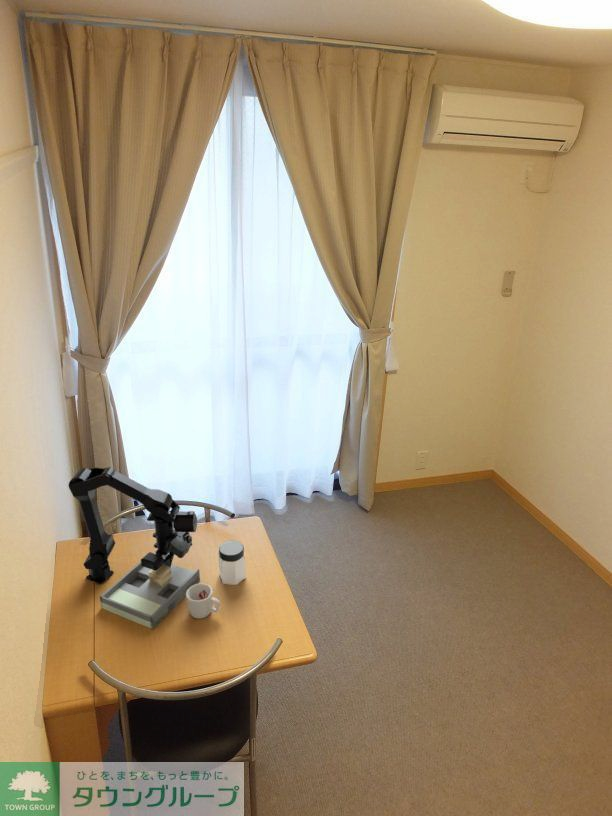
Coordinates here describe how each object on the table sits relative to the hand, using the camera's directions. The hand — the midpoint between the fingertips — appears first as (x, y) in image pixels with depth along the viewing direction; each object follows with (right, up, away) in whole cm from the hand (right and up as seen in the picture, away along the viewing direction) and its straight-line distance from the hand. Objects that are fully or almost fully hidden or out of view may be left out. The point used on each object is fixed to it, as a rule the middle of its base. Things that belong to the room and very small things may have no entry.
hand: (168, 568), depth 181 cm
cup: (+15, -10, -13) cm, 22 cm away
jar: (+21, -4, +3) cm, 22 cm away
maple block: (-2, -2, -3) cm, 4 cm away
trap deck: (-4, -6, -6) cm, 9 cm away
